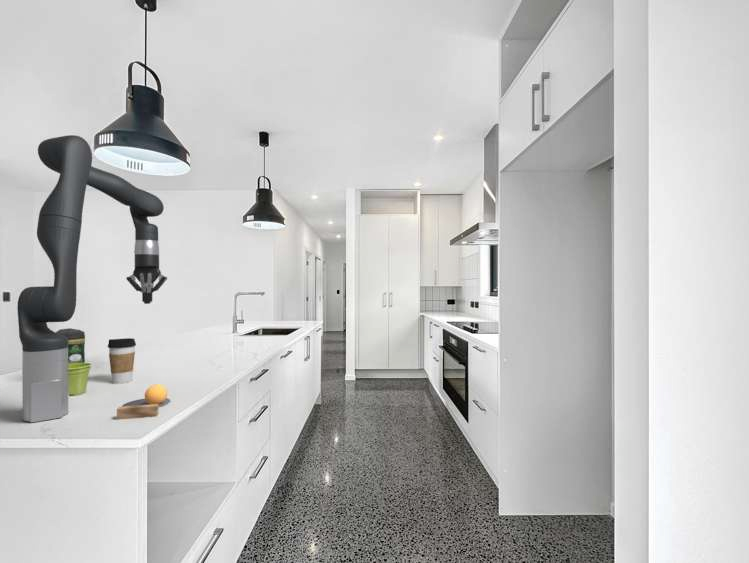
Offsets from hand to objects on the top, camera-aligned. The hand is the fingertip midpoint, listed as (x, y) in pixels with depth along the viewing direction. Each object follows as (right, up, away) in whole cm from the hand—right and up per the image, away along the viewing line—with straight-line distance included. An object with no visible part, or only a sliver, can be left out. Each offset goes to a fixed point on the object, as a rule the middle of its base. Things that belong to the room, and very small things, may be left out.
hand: (147, 303), depth 144 cm
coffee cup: (-8, -27, -1) cm, 29 cm away
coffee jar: (-27, -28, 0) cm, 38 cm away
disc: (+15, -27, -28) cm, 42 cm away
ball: (+18, -24, -29) cm, 41 cm away
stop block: (+19, -27, -39) cm, 51 cm away
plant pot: (-14, -27, -16) cm, 35 cm away
